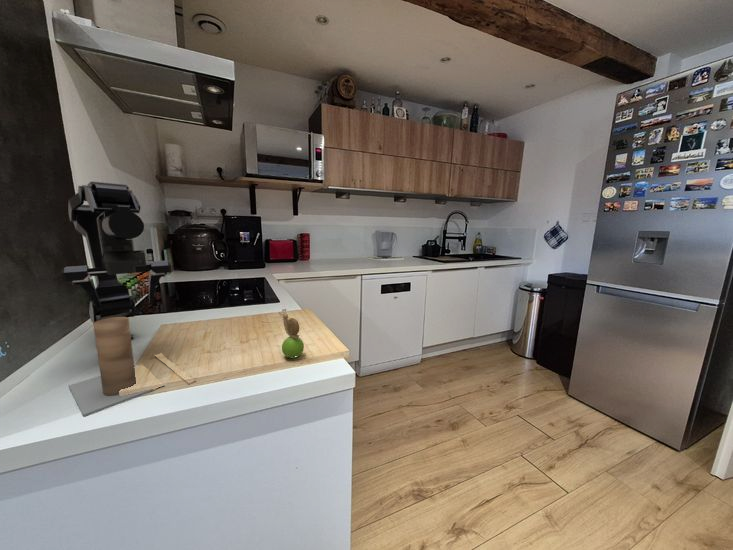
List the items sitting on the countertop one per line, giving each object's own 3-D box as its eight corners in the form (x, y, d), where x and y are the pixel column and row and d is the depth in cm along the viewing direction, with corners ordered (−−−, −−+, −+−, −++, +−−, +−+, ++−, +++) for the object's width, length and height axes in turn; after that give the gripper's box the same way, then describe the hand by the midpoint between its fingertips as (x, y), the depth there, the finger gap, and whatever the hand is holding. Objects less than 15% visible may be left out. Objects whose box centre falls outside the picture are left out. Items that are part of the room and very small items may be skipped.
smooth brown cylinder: (111, 383, 58) (102, 317, 55) (140, 380, 59) (133, 316, 57) (96, 397, 53) (86, 326, 50) (129, 393, 54) (120, 324, 52)
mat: (68, 387, 56) (68, 385, 56) (142, 364, 66) (142, 363, 66) (83, 416, 48) (83, 414, 48) (165, 386, 58) (164, 384, 58)
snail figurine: (293, 349, 76) (292, 306, 74) (308, 356, 72) (308, 311, 70) (275, 355, 72) (274, 311, 70) (290, 364, 68) (289, 316, 66)
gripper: (50, 240, 52) (64, 322, 54) (171, 238, 65) (179, 304, 67) (59, 241, 61) (71, 311, 63) (164, 238, 73) (171, 298, 75)
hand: (126, 306), depth 67 cm, fingers open, 9 cm apart
